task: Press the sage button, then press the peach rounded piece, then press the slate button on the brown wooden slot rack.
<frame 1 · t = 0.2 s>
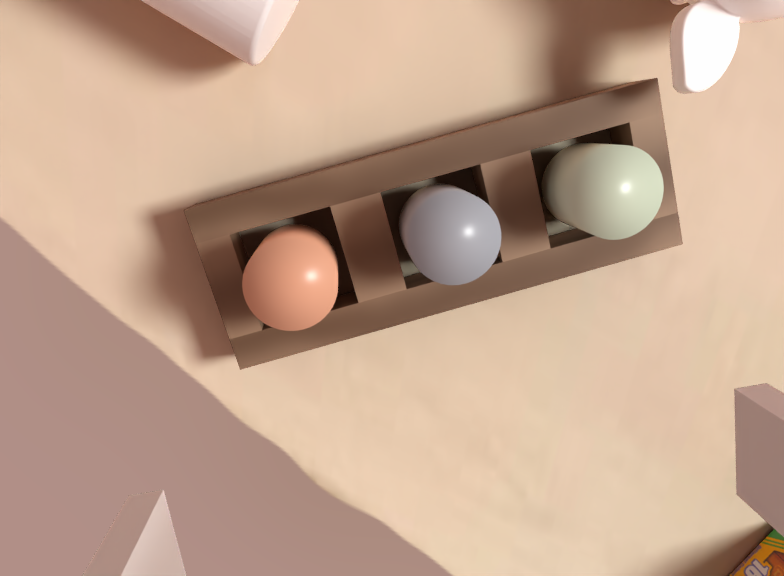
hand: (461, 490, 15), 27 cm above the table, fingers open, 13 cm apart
slate button: (446, 231, 36), point 4 cm above the table, slide at 0.0 cm
sage button: (598, 188, 37), point 4 cm above the table, slide at 0.0 cm
peach rounded piece: (293, 274, 36), point 4 cm above the table, slide at 0.0 cm
brown wooden slot rack: (435, 220, 41), on the table
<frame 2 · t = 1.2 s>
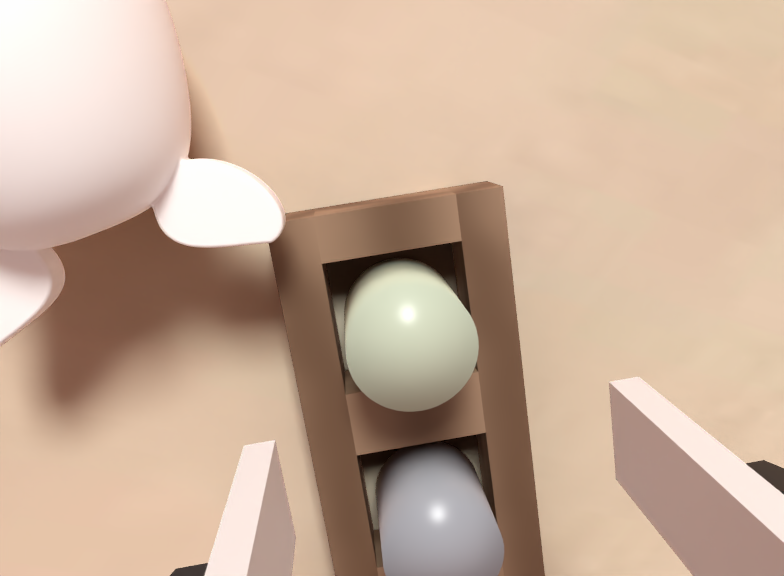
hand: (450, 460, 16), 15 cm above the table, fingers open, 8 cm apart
slate button: (434, 519, 29), point 4 cm above the table, slide at 0.0 cm
sage button: (405, 329, 27), point 4 cm above the table, slide at 0.0 cm
piggy bank: (91, 127, 28), on the table
brown wooden slot rack: (422, 469, 33), on the table
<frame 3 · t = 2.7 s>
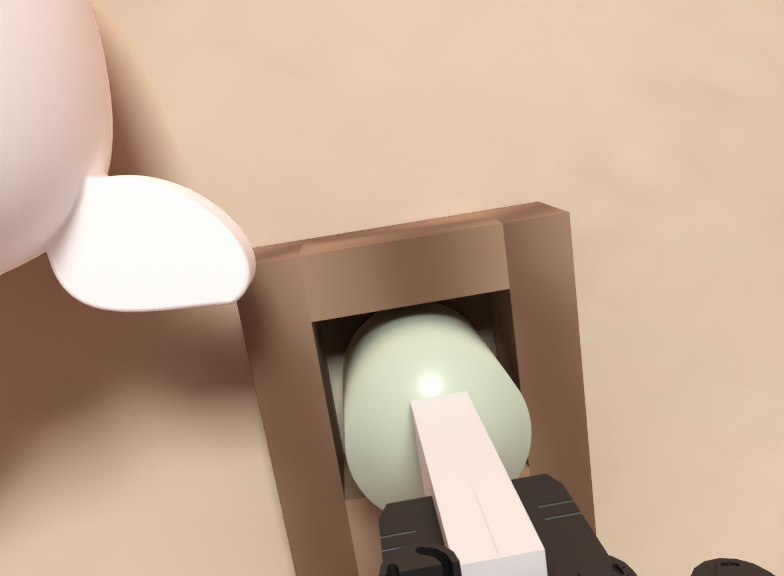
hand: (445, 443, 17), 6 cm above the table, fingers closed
sage button: (426, 401, 20), point 3 cm above the table, slide at 1.1 cm, touching gripper
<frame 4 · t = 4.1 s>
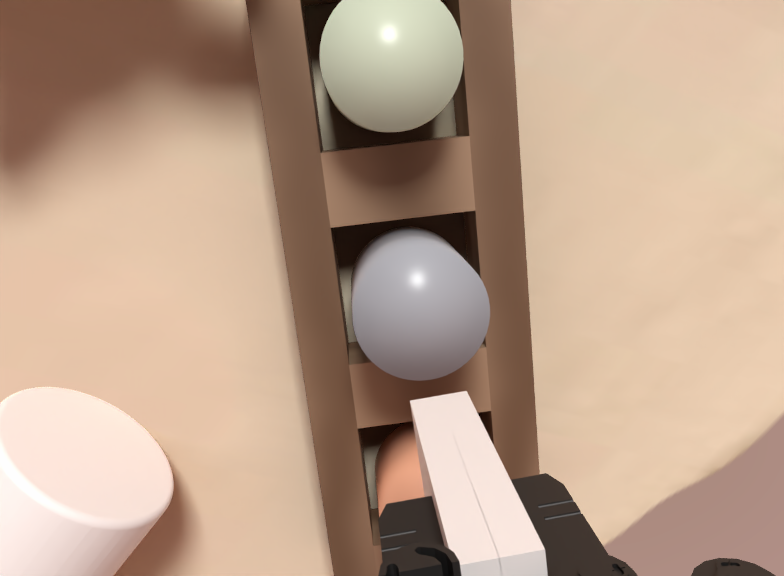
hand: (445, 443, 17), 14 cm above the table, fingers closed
slate button: (414, 297, 26), point 4 cm above the table, slide at 0.0 cm
sage button: (387, 65, 25), point 3 cm above the table, slide at 1.2 cm
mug: (31, 460, 31), on the table
peach rounded piece: (435, 496, 28), point 4 cm above the table, slide at 0.0 cm
brown wooden slot rack: (404, 274, 30), on the table
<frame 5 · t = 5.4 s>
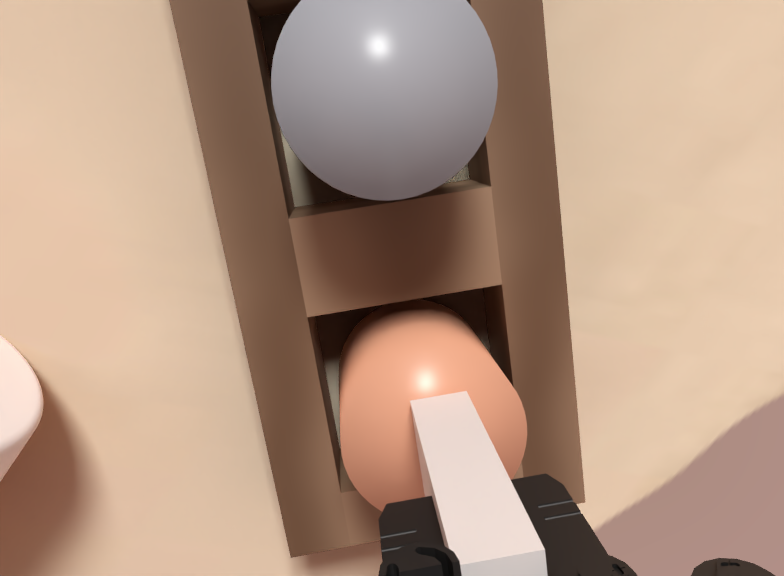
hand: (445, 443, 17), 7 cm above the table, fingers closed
slate button: (378, 93, 17), point 4 cm above the table, slide at 0.0 cm
peach rounded piece: (421, 400, 20), point 4 cm above the table, slide at 0.7 cm, touching gripper
brown wooden slot rack: (368, 101, 21), on the table
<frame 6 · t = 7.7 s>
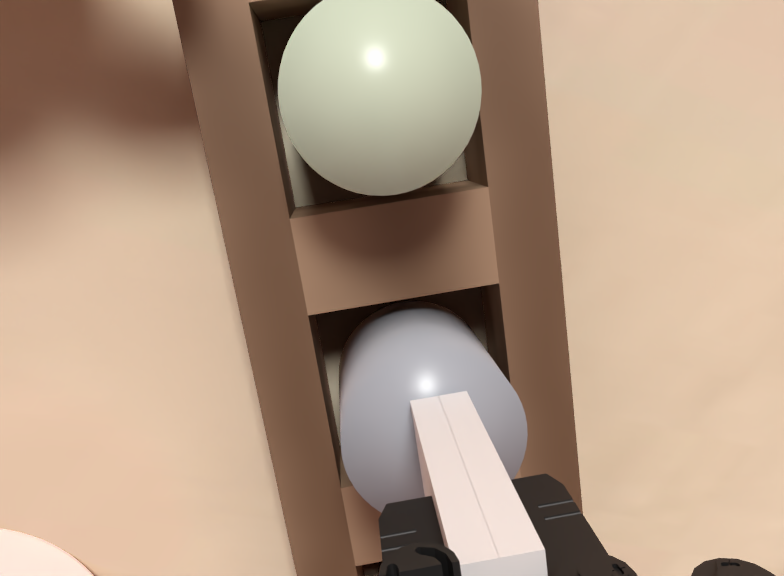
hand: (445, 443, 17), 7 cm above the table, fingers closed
slate button: (422, 401, 20), point 4 cm above the table, slide at 0.4 cm, touching gripper
sage button: (374, 98, 18), point 3 cm above the table, slide at 1.2 cm
brown wooden slot rack: (407, 357, 23), on the table
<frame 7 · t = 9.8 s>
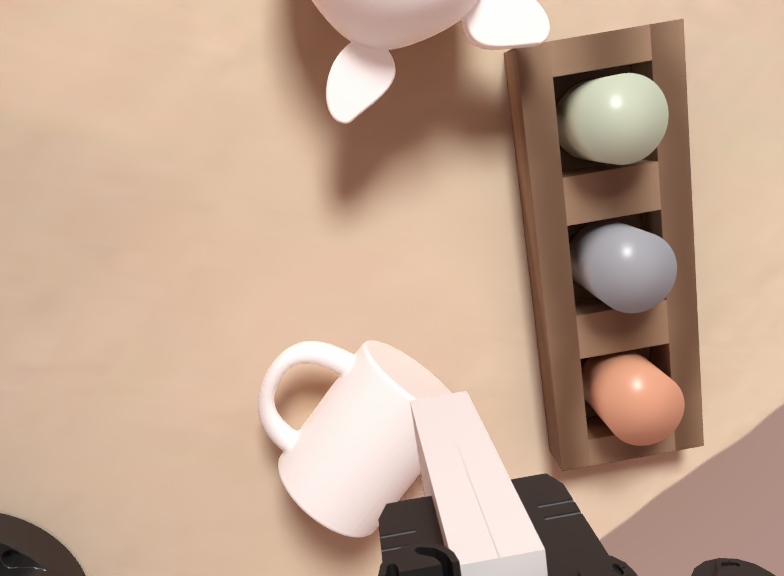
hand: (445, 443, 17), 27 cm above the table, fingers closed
slate button: (618, 264, 41), point 3 cm above the table, slide at 1.2 cm
sage button: (607, 120, 39), point 3 cm above the table, slide at 1.2 cm
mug: (345, 394, 46), on the table
peach rounded piece: (628, 393, 43), point 3 cm above the table, slide at 1.3 cm
brown wooden slot rack: (600, 254, 44), on the table
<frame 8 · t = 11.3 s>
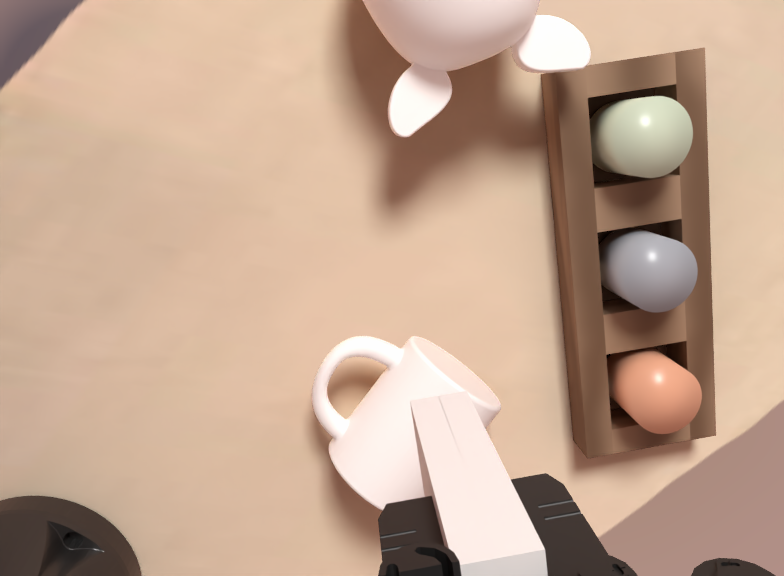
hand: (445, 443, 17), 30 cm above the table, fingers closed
slate button: (643, 268, 45), point 3 cm above the table, slide at 1.2 cm
sage button: (635, 137, 43), point 3 cm above the table, slide at 1.2 cm
piggy bank: (431, 12, 43), on the table
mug: (386, 387, 49), on the table
peach rounded piece: (649, 386, 47), point 3 cm above the table, slide at 1.3 cm
brown wooden slot rack: (623, 259, 48), on the table
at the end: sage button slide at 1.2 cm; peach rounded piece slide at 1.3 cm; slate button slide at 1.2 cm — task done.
